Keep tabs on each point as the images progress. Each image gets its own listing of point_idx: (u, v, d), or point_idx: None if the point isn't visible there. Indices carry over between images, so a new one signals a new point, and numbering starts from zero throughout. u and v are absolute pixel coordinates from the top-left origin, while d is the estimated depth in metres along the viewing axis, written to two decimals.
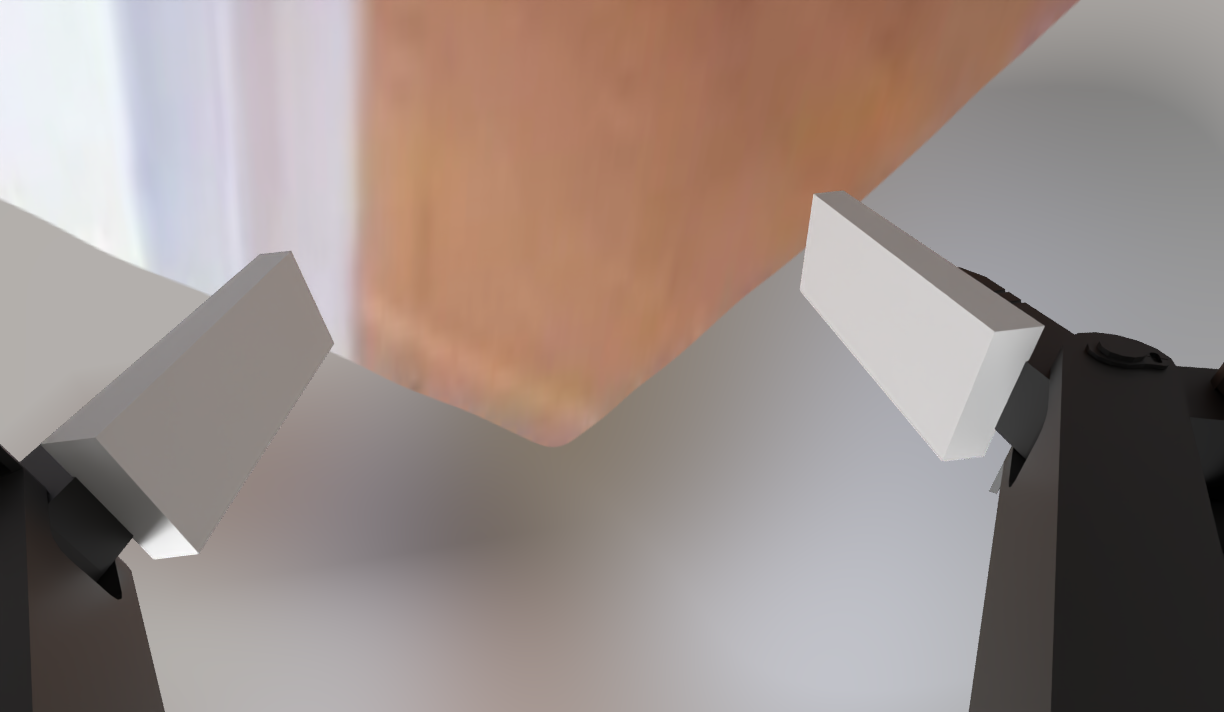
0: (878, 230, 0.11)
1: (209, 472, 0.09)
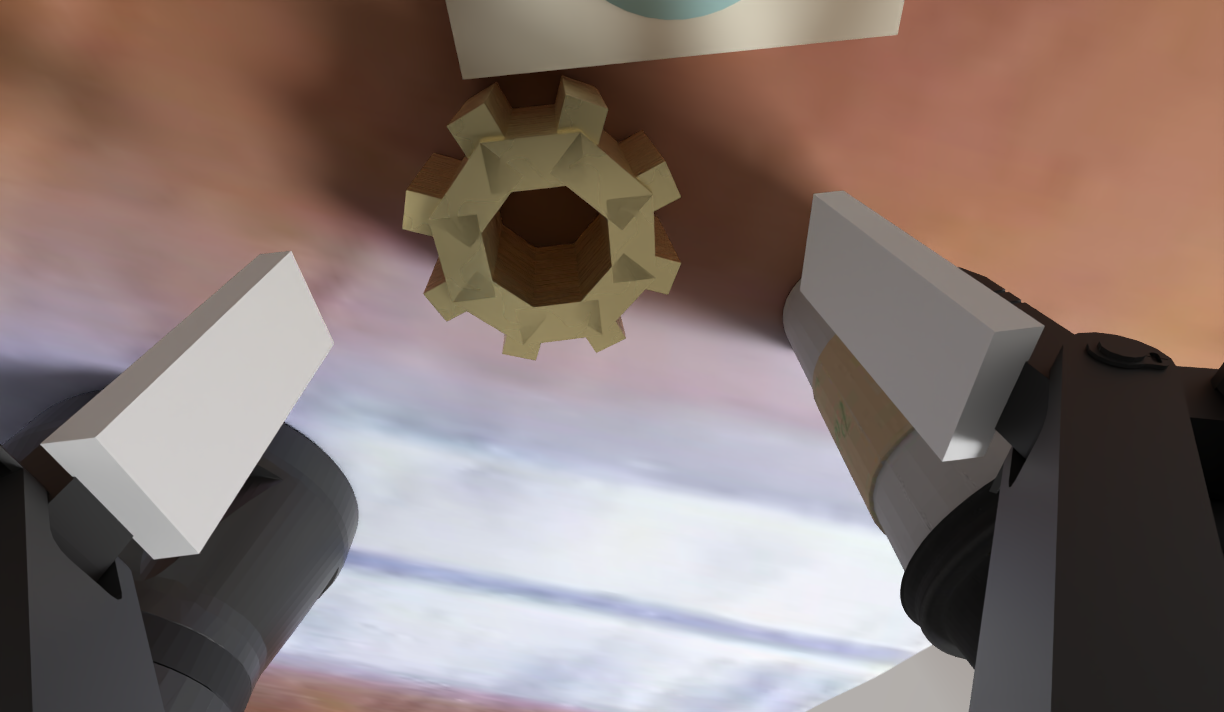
0: (878, 230, 0.11)
1: (209, 472, 0.09)
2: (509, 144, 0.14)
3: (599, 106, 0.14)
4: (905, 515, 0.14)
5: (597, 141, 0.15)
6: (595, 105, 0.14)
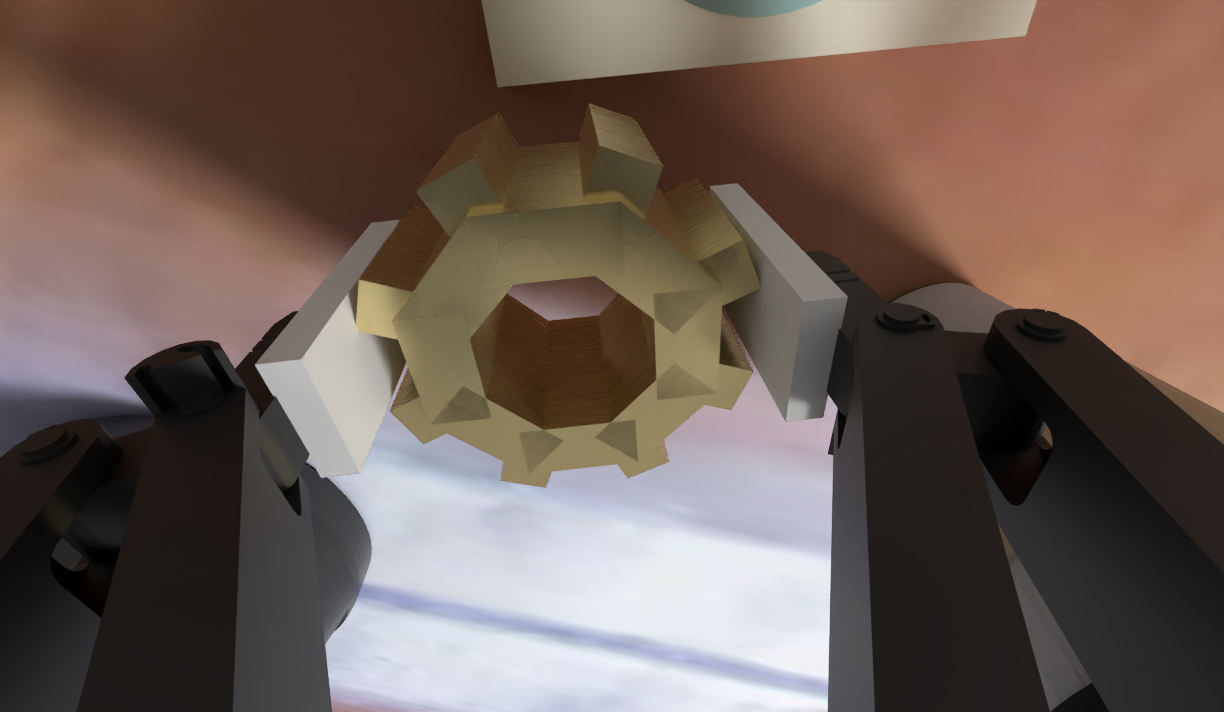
0: (750, 218, 0.12)
1: (362, 404, 0.10)
2: (511, 218, 0.09)
3: (650, 162, 0.09)
4: (1035, 644, 0.11)
5: (644, 212, 0.10)
6: (644, 161, 0.09)
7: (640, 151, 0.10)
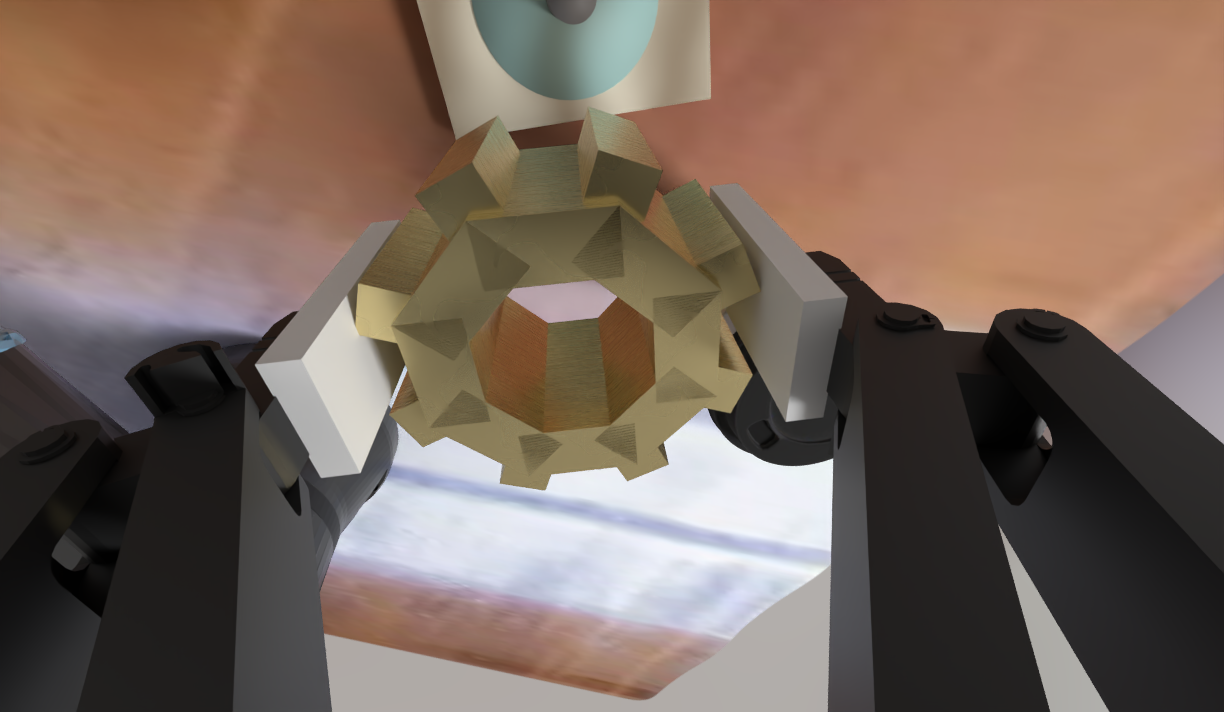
0: (750, 218, 0.12)
1: (363, 404, 0.10)
2: (510, 223, 0.09)
3: (649, 166, 0.09)
4: None
5: (643, 216, 0.10)
6: (643, 165, 0.09)
7: (639, 155, 0.10)
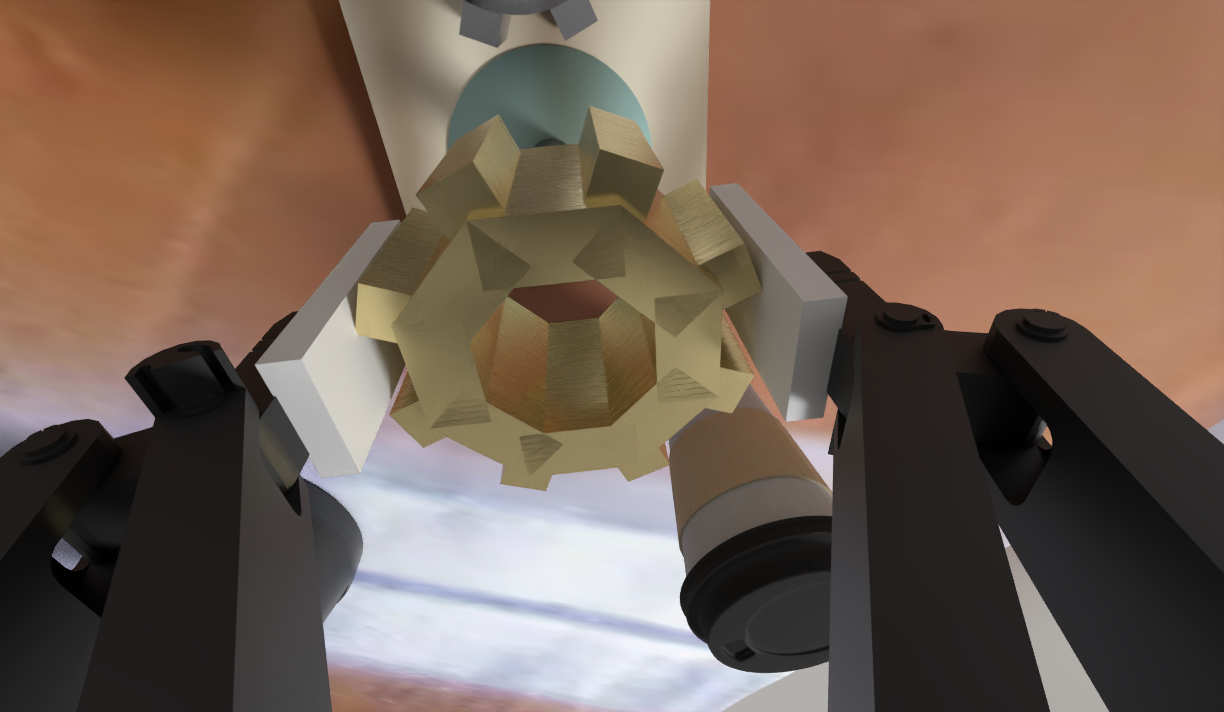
0: (750, 218, 0.12)
1: (362, 404, 0.10)
2: (511, 222, 0.09)
3: (650, 166, 0.09)
4: (686, 565, 0.24)
5: (645, 216, 0.10)
6: (644, 164, 0.09)
7: (640, 154, 0.10)
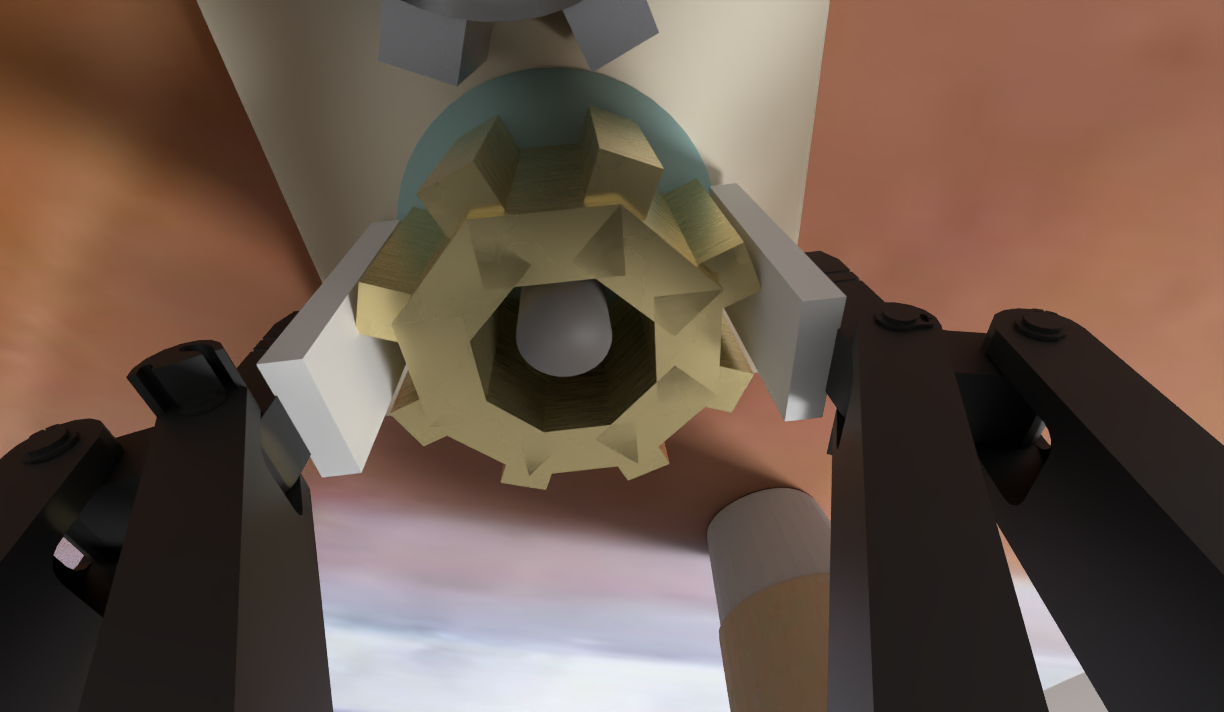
0: (749, 218, 0.12)
1: (363, 404, 0.10)
2: (511, 221, 0.09)
3: (650, 165, 0.09)
4: None
5: (644, 215, 0.10)
6: (644, 163, 0.09)
7: (640, 153, 0.10)
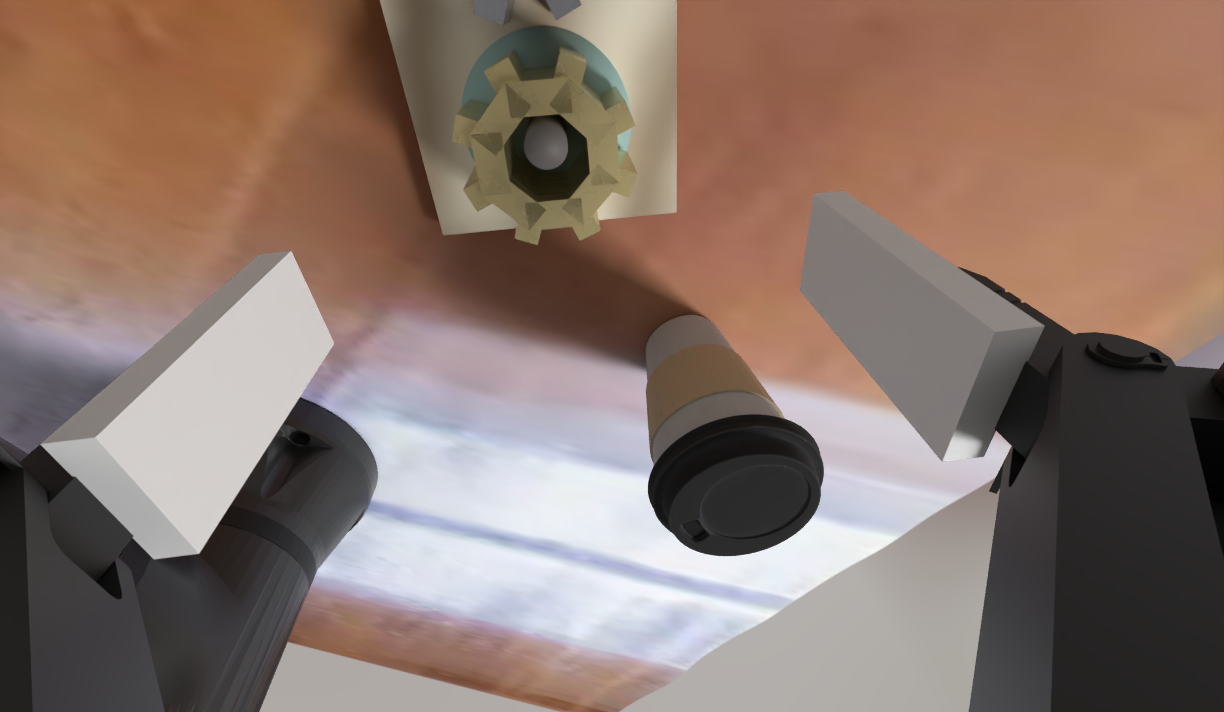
0: (878, 230, 0.11)
1: (209, 472, 0.09)
2: (523, 84, 0.22)
3: (581, 61, 0.22)
4: None
5: (580, 84, 0.23)
6: (578, 60, 0.22)
7: (578, 58, 0.23)
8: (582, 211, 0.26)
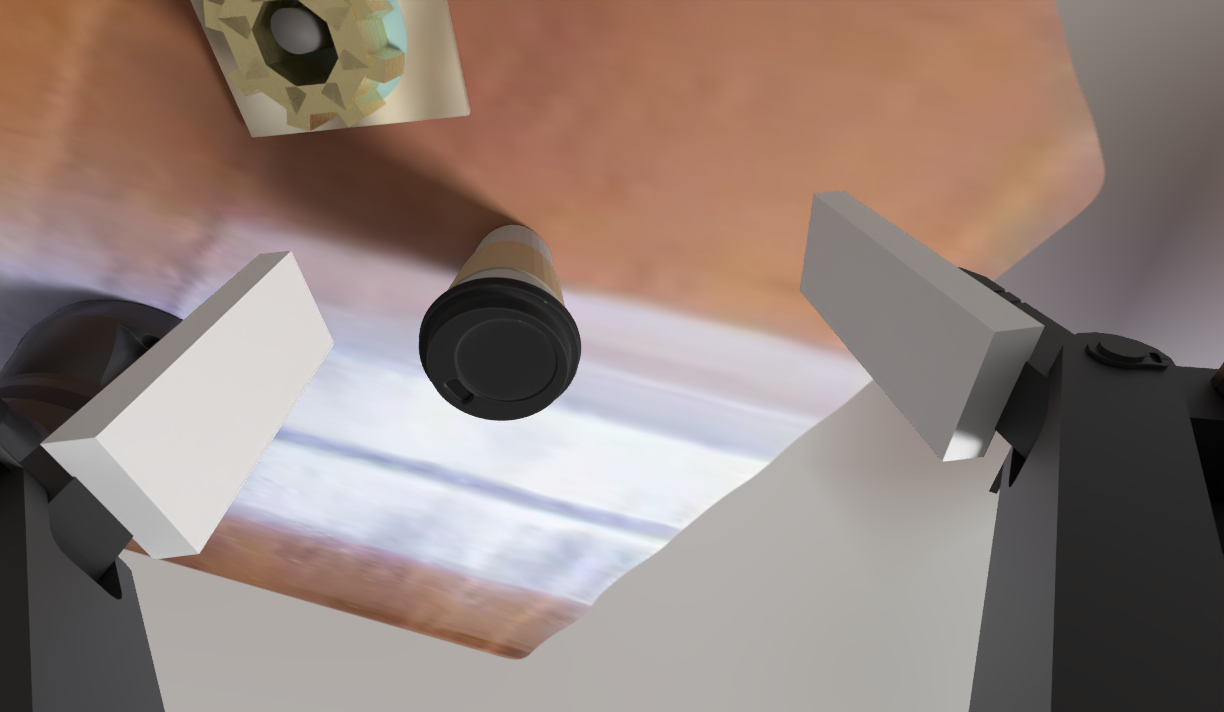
0: (878, 230, 0.11)
1: (209, 472, 0.09)
2: None
3: None
4: None
5: None
6: None
7: None
8: (341, 96, 0.28)
